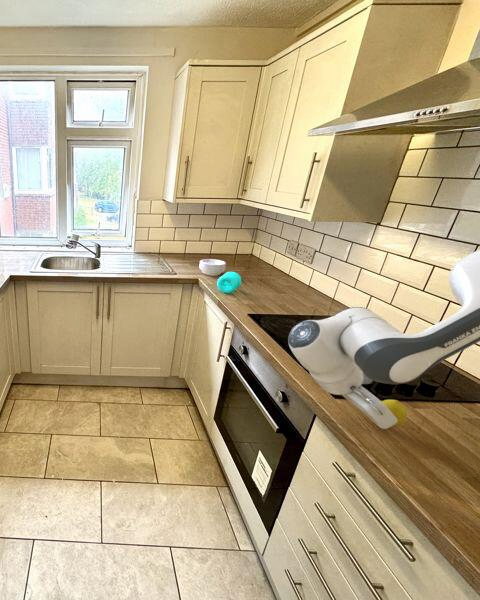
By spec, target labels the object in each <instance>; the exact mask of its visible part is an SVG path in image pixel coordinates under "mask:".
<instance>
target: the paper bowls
mask: <svg viewBox="0 0 480 600" xmlns="http://www.w3.org/2000/svg"><path fill="white" fill-rule="evenodd" d="M226 266H227V262H226V261H224V260H221V259H214V258H204V259H203V258H202V259H201V260H200V261H199V266H198V268H199V270H201V272H202V274H204V275H205V276H212V277H214V276H215V277H217V276H220V275H221V273H223V272H225V271H226Z"/></svg>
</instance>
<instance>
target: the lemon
mask: <svg viewBox="0 0 480 600" xmlns="http://www.w3.org/2000/svg"><path fill="white" fill-rule="evenodd" d="M381 402H382V403H383V404H384V405H385V406H386V407H387V408H388V409H389V410H390V411H391V412H392V414H393V415H394V416H395V417H396V418H397V420H398V422H397V423H396V424H395V425H393V426H391V427H390V428H398V427H401V426H402V425H403V424H405V423H406V421H407V417H408V410H407V407H406V406H405V405H404V404H403V403H402V402H401V401H399V400H397V399H384V400H382V401H381Z"/></svg>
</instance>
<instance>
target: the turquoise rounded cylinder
mask: <svg viewBox="0 0 480 600" xmlns="http://www.w3.org/2000/svg"><path fill="white" fill-rule="evenodd" d="M216 285H217V288H218V290H219V291H220V292H222V293H223V294H232V293H234V292H235V291H236V290H237V289H239V288H240V287H241V285H242V277H241V275H240V274H239V273H237V272H235V271H227V272H226V273H224V274H223V275H221V276H220V277H219V278H218V279H217V282H216Z"/></svg>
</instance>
